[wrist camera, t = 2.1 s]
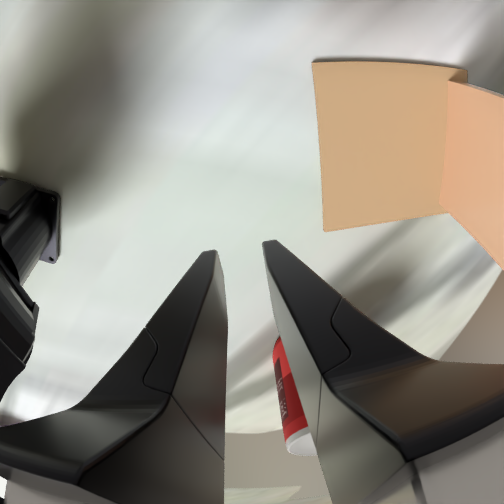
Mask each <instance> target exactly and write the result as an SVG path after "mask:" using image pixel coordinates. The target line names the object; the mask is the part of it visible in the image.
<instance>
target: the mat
mask: <svg viewBox="0 0 504 504" xmlns="http://www.w3.org/2000/svg"><path fill="white" fill-rule="evenodd" d="M312 71H313V80H314V89H315V99H316V109H317V121H318V133H319V147H320V162H321V180H322V202H323V230H324V232H329V231H335V230H342V229H348V228H354V227H360V226H367V225H373V224H379V223H386V222H392V221H398V220H405V219H411V218H418V217H424V216H431V215H437V214H444V213H448V212H447V211H446V210H445V209H444V208H443V207H442V206H441V205H440V204H439V199H440V192H441V184H442V176H443V168H444V158H445V146H446V132H447V110H448V81H457V82H465V83H467V70H463V69H457V68H450V67H442V66H433V65H424V64H412V63H398V62H372V61H341V62H315V63H312Z"/></svg>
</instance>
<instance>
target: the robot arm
mask: <svg viewBox="0 0 504 504" xmlns="http://www.w3.org/2000/svg"><path fill="white" fill-rule="evenodd" d="M52 197H53V198H54V199H55V201H54V200H52ZM59 208H60V196H59V195H58V193H56V192H54V191H50V190H46V189H43V188H39V187H36V186H35V185H33V184H29V183H25V182H22V181H18V180H14V179H6V178H2V177H0V402H1V400H2V397H3V395H4V394H5V392H6V390H7V388H8V387H9V385H10V384H11V383H12V381H13V380H14V379H15V378H16V377H17V376H18V375H19V374H20V373H21V372H22V371H23V370H24V369H25V367H26V363H27V361H28V360H29V358H30V355H31V353H32V349H33V344H34V341H35V329H36V323H37V318H38V312H39V307H38V305H37V304H36V303H35V302H33V301H32V300H31V298H30V297H29V296H28V294H27V293H26V292H25V290H24V289H23V287H22V286H23V284H24V283H25V281H26V279H27V278H28V276H29V274H30V273H31V271H32V270H33V268H34V267H35V265H36V264H37V262H38V260H42V261H45V262H48V263H51V264H54V263H56V261H57V260H58V228H59ZM262 247H263V254H264V260H265V267H266V273H267V279H268V285H269V291H270V297H271V302H272V308H273V313H274V317H275V321H276V324H277V328H278V331H279V334H280V337H281V340H282V343H283V347H284V350H285V353H286V356H287V359H288V363H289V366H290V369H291V372H292V375H293V378H294V382H295V385H296V388H297V391H298V394H299V397H300V401H301V404H302V407H303V410H304V413H305V417H306V420H307V423H308V426H309V429H310V433H311V436H312V439H313V442H314V445H315V448H316V452H317V455H318V458H319V461H320V465H321V468H322V471H323V474H324V477H325V480H326V484H327V487H328V490H329V493H330V497H331V500H332V503H333V504H504V364H480V363H460V362H445V361H438V360H434V359H431V358H429V357H427V356H424V355H422V354H421V353H419V352H417V351H416V350H414V349H413V348H411V347H410V346H409V345H407V344H406V343H404V342H403V341H401V340H400V339H398V338H397V337H395V336H394V335H392V334H391V333H389V332H388V331H386V330H385V329H384V328H382V327H381V326H379V325H378V324H376V323H375V322H374V321H372V320H371V319H369V318H368V317H367V316H365V315H364V314H363V313H362V312H360V311H359V310H358V309H357V308H356V307H354V306H353V305H352V304H351V303H350V302H348V301H347V300H346V299H345V298H343V297H342V296H341V295H340V294H339V293H338V292H337V291H336V290H335V289H333V288H332V287H331V286H330V285H329V284H328V283H326V282H325V281H324V280H323V279H322V278H321V277H319V276H318V275H317V274H316V273H315V272H314V271H312V270H311V269H310V268H309V267H308V266H307V265H305V264H304V263H303V262H302V261H301V260H300V259H298V258H297V257H296V256H295V255H294V254H293V253H291V252H290V251H289V250H288V249H287V248H285V247H284V246H283V245H282V244H281V243H280V242H278V241H277V240H270V241H264V242H263V243H262ZM52 257H53V258H52ZM145 327H146V328H143V330H142V331H141V332H140V334H139V335H138V336H137V338H136V339H135V340H134V342H133V343H132V344H131V345H130V347H129V348H128V349H127V351H126V352H125V353H124V354H123V355H122V356H121V358H120V359H119V360H118V361H117V362H116V363H115V364H114V366H113V367H112V368H111V369H110V370H109V371H108V372H107V373H106V375H105V376H104V377H103V378H102V379H101V380H100V381H99V382H98V383H97V385H96V386H95V387H94V388H93V389H92V390H91V391H90V392H89V394H88V395H87V396H86V397H85V398H84V399H83V400H82V401H80V402H79V403H78V404H77V405H75V406H73V407H71V408H69V409H67V410H65V411H61V412H58V413H55V414H51V415H48V416H44V417H41V418H37V419H33V420H29V421H26V422H22V423H18V424H14V425H10V426H5V427H0V476H1V477H3V478H5V479H6V480H7V485H6V492H5V498H4V499H3V498H1V497H0V504H224V447H225V403H226V368H227V339H228V317H227V306H226V295H225V284H224V275H223V271H222V267H221V263H220V259H219V255H218V252H217V251H216V250H209V251H204V252H202V253H201V254H200V256H199V257H198V258H197V259H196V261H195V262H194V263H193V264H192V266H191V267H190V268H189V270H188V271H187V272H186V273H185V275H184V276H183V277H182V279H181V280H180V281H179V282H178V284H177V285H176V286H175V288H174V289H173V290H172V292H171V293H170V294H169V295H168V297H167V298H166V299H165V301H164V302H163V303H162V305H161V306H160V307H159V309H158V310H157V311H156V313H155V314H154V315H153V317H152V318H151V319H150V321H149V322H148V323H147V325H146V326H145Z"/></svg>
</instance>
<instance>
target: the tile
mask: <svg viewBox="0 0 504 504" xmlns="http://www.w3.org/2000/svg"><path fill="white" fill-rule="evenodd" d="M439 204H440V205H441V206H442V207H443V208H444V209H445V210H446V211H447V212H448V213H449V214H450V215H451V216H452V217H453V218H454V219H455V220H456V221H458V222H459V223H460V224H461V225H462V226H463V227H464V228H465V229H466V230H467V231H468V232H469V234H470V235H471V236H472V237H473V238H474V239H475V240H476V241H477V242H478V243H479V244H480V245H481V246H482V247H483V248H484V249H485V250H486V251H487V253H488V254H489V255H490V256H491V257H492V258H493V259H494V260H495V261H496V263H497V264H498V265H499V266H500V267H501V268H502V269H503V271H504V95H503V94H500V93H498V92H495V91H492V90H489V89H486V88H483V87H479V86H476V85H473V84H469V83H465V82H457V81H448V110H447V132H446V146H445V158H444V168H443V176H442V184H441V192H440V199H439Z"/></svg>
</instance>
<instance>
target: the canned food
mask: <svg viewBox="0 0 504 504" xmlns="http://www.w3.org/2000/svg"><path fill="white" fill-rule="evenodd" d="M273 363H274V370H275V377H276V384H277V391H278V398H279V405H280V412H281V419H282V426H283V432H284V437H285V444H286V446H287V450H288V452H290V453H292V454H295V455H302V456H303V455H304V456H311V455H317V452H316V448H315V445H314V442H313V439H312V436H311V433H310V429H309V426H308V423H307V420H306V417H305V413H304V410H303V407H302V404H301V401H300V397H299V394H298V391H297V388H296V385H295V382H294V378H293V375H292V372H291V369H290V366H289V363H288V359H287V356H286V353H285V350H284V347H283V343H282V340H281V337H279V338H278V340H277V341H276V343H275V346H274V350H273Z"/></svg>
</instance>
